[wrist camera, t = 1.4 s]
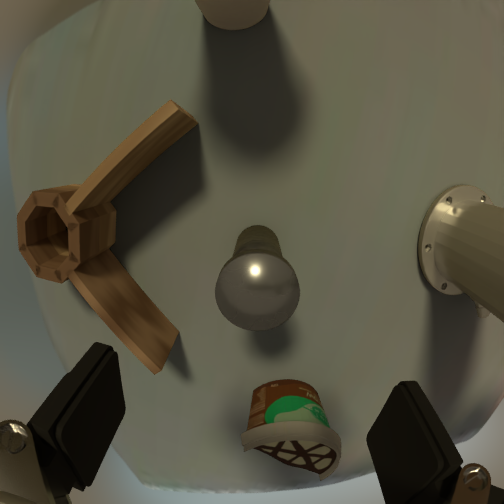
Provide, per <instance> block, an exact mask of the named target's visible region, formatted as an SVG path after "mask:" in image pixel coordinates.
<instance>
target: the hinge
mask: <svg viewBox="0 0 504 504" xmlns="http://www.w3.org/2000/svg"><path fill="white" fill-rule="evenodd" d="M197 124H198V122H197V121H196V120H195V119H194V117H193V116H192V115H191V114H189V113H188V112H187V111H185V110H184V109H183V108H181V107H180V106H179V105H177V104H176V103H175V102H173V101H172V100H169V101H168V102H167V103H166V104H164V105H163V106H162V107H161V108H160V109H159V110H157V111H156V112H155V113H154V114H153V115H152V116H150V117H149V118H148V119H147V120H146V121H145V122H144V123H142V124H141V125H140V126H139V127H138V128H137V129H136V130H135V131H134V132H133V133H132V134H130V135H129V136H128V137H127V138H126V139H125V140H124V141H123V142H122V143H121V144H120V145H119V146H118V147H117V148H116V149H115V150H114V151H113V152H112V153H111V154H110V155H109V156H108V157H107V158H106V159H105V160H104V161H103V162H102V163H101V164H100V165H99V166H98V167H97V169H96V170H95V171H94V172H93V173H92V174H91V175H90V176H89V177H88V178H87V179H86V181H85V182H84V183H83V184H82V185H77V184H73V185H67V186H61V187H55V188H49V189H43V190H38V191H33V192H32V193H31V195H30V196H29V198H28V199H27V201H26V202H25V204H24V205H23V207H22V208H21V210H20V212H19V213H18V215H17V228H18V243H19V244H18V245H19V251H20V252H21V254H22V255H23V257H24V259H25V260H26V262H27V263H28V265H29V266H30V268H31V269H32V271H33V272H34V274H35V275H36V277H39V278H43V279H46V280H50V281H54V282H58V283H63V282H65V281H66V280H68V279H70V280H71V282H72V283H73V284H74V286H75V287H76V288H77V290H78V291H79V292H80V293H81V295H82V296H83V297H84V298H85V300H86V301H87V302H88V303H89V305H90V306H91V307H92V308H93V309H94V311H95V312H96V313H97V314H98V315H99V317H100V318H101V319H102V320H103V321H104V322H105V323H106V325H107V326H108V327H109V328H110V329H111V330H112V331H113V332H114V334H115V335H116V336H117V337H118V338H119V339H120V340H121V341H122V342H123V343H124V344H125V345H126V347H127V348H128V349H129V350H130V351H131V352H132V353H133V354H134V355H135V356H136V357H137V358H138V359H139V360H140V361H141V362H142V363H143V364H144V365H145V366H146V367H147V368H148V369H149V370H150V371H151V372H152V373H153V374H154V375H155V374H157V373H158V372H160V371H162V369H163V366H164V364H165V362H166V359H167V357H168V355H169V353H170V350H171V348H172V346H173V344H174V342H175V339H176V337H177V335H178V333H179V331H178V330H177V329H176V328H175V327H174V326H173V324H172V323H171V322H170V321H169V320H168V319H167V318H166V317H165V316H164V315H163V313H162V312H161V311H160V310H159V309H158V308H157V307H156V305H155V304H154V303H153V302H152V301H151V300H150V299H149V297H148V296H147V295H146V294H145V293H144V292H143V290H142V289H141V288H140V287H139V286H138V284H137V283H136V282H135V281H134V280H133V278H132V277H131V276H130V275H129V273H128V272H127V271H126V270H125V268H124V267H123V266H122V265H121V263H120V262H119V261H118V260H117V258H116V257H115V256H114V254H113V253H112V252H111V251H110V249H109V248H110V247H111V246H112V245H113V244H114V243H115V237H116V209H115V208H114V206H113V205H112V204H111V200H112V199H113V198H114V197H115V196H116V195H117V194H119V193H120V192H121V191H122V190H123V189H124V188H125V187H126V186H127V185H128V184H129V183H130V182H131V181H132V180H133V179H134V178H135V177H136V176H137V175H138V174H139V173H141V172H142V171H143V170H144V169H145V168H146V167H147V166H148V165H149V164H150V163H152V162H153V161H154V160H155V159H156V158H157V157H158V156H159V155H161V154H162V153H163V152H164V151H165V150H166V149H168V148H169V147H170V146H171V145H172V144H173V143H175V142H176V141H177V140H178V139H179V138H181V137H182V136H183V135H184V134H186V133H187V132H188V131H189V130H191V129H192V128H193V127H194V126H196V125H197ZM66 226H67V228H68V232H67V231H66Z"/></svg>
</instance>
